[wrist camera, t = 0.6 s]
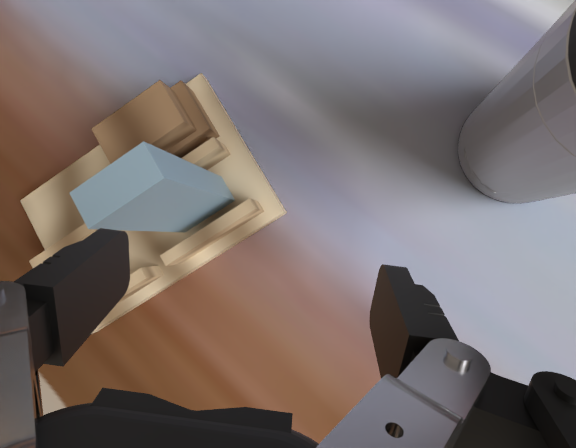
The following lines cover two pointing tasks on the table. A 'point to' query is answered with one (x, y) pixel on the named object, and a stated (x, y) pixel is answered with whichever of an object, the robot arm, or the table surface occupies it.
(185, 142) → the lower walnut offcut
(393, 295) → the robot arm
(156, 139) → the upper walnut offcut
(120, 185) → the slate-blue rectangular block
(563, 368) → the table surface
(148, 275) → the maple rack
